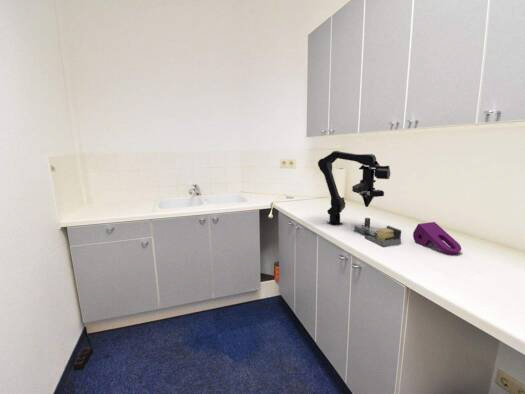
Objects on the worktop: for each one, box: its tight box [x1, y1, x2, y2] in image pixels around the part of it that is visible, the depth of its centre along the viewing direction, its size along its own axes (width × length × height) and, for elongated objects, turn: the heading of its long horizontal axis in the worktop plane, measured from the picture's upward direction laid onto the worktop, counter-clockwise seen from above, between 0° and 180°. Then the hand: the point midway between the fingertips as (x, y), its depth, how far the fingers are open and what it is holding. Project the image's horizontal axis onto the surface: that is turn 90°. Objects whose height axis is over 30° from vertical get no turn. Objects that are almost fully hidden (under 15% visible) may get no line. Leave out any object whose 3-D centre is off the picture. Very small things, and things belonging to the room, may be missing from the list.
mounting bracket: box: [412, 221, 462, 256], centre depth 120 cm, size 9×8×18 cm
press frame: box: [352, 224, 402, 248], centre depth 134 cm, size 24×12×6 cm, turn 18°
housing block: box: [376, 227, 394, 241], centre depth 127 cm, size 5×5×5 cm
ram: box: [361, 217, 378, 236], centre depth 134 cm, size 12×3×7 cm, turn 18°
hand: (366, 206), depth 145 cm, fingers closed
